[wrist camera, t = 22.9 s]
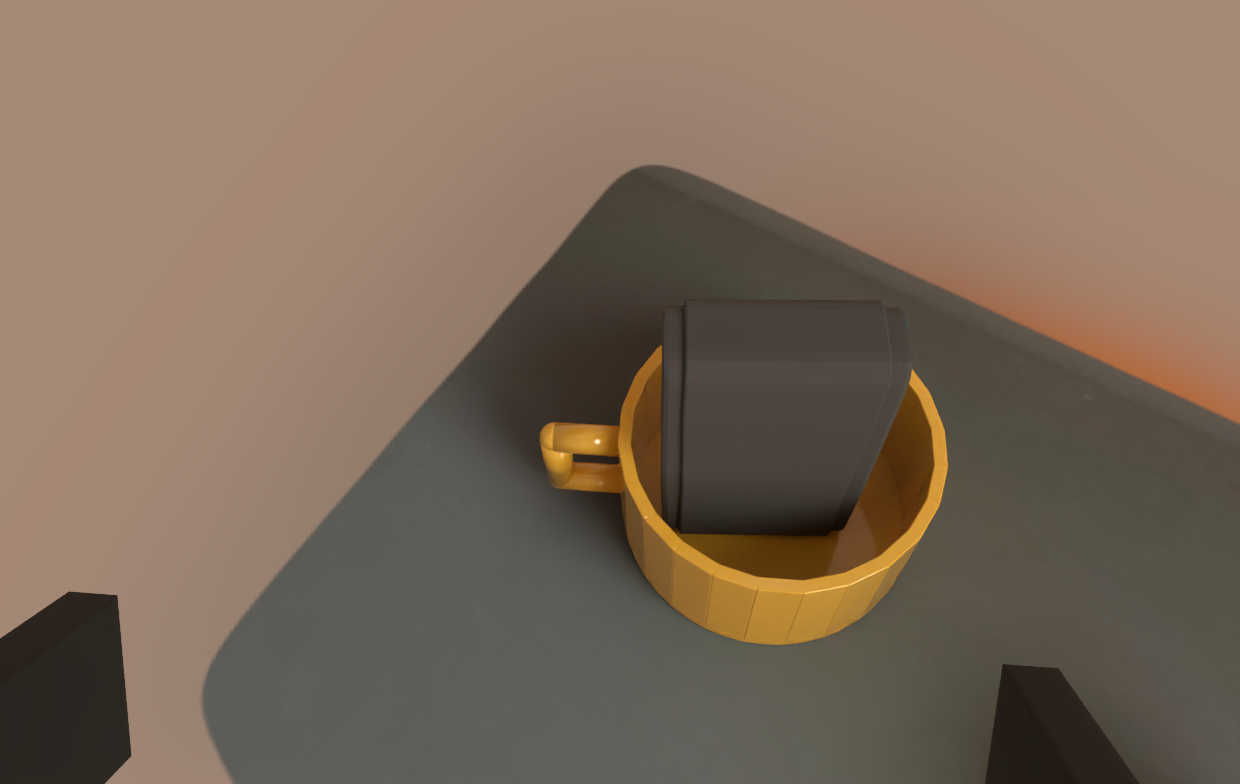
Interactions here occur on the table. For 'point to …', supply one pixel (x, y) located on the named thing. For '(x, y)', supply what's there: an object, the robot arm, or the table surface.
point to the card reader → (776, 411)
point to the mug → (761, 564)
